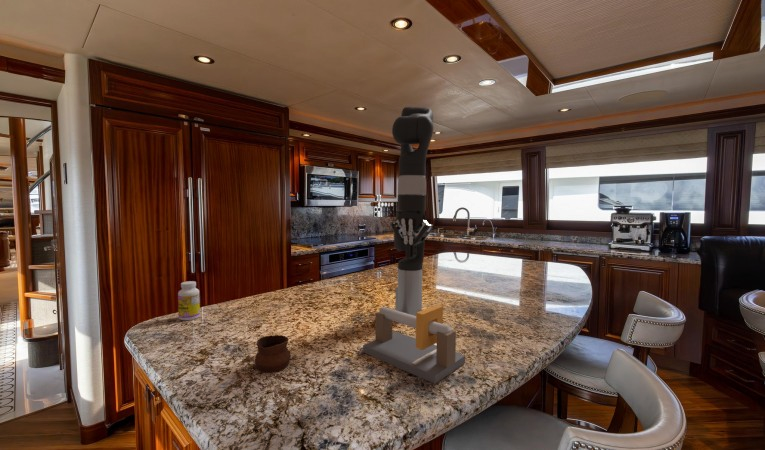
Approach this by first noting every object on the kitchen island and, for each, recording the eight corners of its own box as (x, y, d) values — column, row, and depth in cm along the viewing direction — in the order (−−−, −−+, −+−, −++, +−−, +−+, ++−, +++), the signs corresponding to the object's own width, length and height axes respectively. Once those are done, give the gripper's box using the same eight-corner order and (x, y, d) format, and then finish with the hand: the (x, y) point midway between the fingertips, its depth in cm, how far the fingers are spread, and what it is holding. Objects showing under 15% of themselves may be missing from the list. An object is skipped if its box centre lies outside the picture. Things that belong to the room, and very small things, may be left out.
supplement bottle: (174, 319, 118) (173, 283, 117) (191, 313, 124) (190, 279, 123) (187, 322, 115) (186, 285, 115) (204, 316, 122) (203, 281, 121)
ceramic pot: (234, 390, 74) (234, 359, 73) (235, 357, 90) (235, 332, 90) (315, 376, 81) (316, 347, 81) (302, 348, 97) (302, 324, 97)
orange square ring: (415, 347, 84) (416, 312, 83) (436, 337, 90) (436, 304, 90) (422, 350, 82) (422, 314, 82) (442, 339, 89) (442, 306, 88)
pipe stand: (362, 352, 93) (363, 311, 92) (395, 337, 103) (395, 300, 103) (434, 384, 77) (435, 335, 76) (465, 363, 87) (466, 319, 86)
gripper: (383, 193, 90) (383, 256, 91) (423, 192, 81) (422, 263, 82) (401, 194, 95) (400, 254, 97) (440, 193, 86) (439, 259, 88)
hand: (410, 258), depth 89 cm, fingers closed
